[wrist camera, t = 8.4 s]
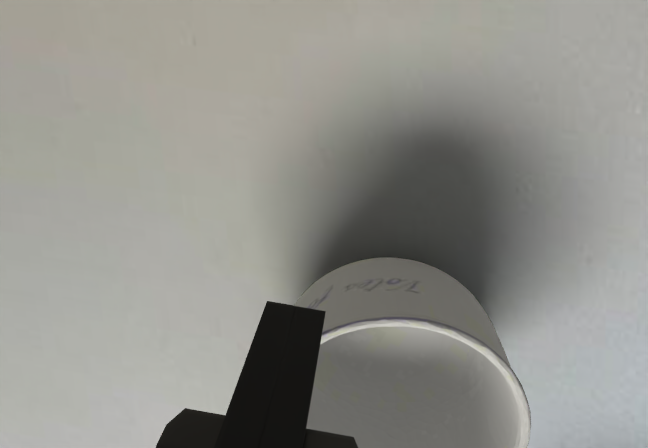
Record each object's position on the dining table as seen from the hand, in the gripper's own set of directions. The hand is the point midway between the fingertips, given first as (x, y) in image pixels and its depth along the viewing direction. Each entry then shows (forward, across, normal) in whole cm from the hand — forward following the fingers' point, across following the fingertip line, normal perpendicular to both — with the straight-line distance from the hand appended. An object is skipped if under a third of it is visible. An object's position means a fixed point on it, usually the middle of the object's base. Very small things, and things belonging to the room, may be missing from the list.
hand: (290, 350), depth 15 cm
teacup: (+14, +3, -8) cm, 16 cm away
